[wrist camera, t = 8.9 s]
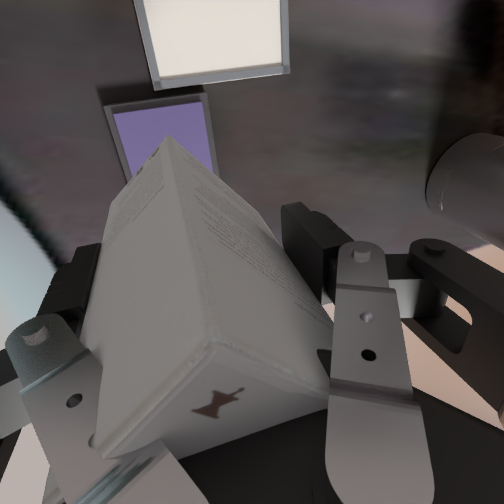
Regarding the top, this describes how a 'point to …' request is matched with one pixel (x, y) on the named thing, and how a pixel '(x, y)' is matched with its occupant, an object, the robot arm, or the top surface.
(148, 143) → the ink pad
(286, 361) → the skincare box
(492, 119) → the top surface
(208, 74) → the framed whiteboard
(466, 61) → the top surface
